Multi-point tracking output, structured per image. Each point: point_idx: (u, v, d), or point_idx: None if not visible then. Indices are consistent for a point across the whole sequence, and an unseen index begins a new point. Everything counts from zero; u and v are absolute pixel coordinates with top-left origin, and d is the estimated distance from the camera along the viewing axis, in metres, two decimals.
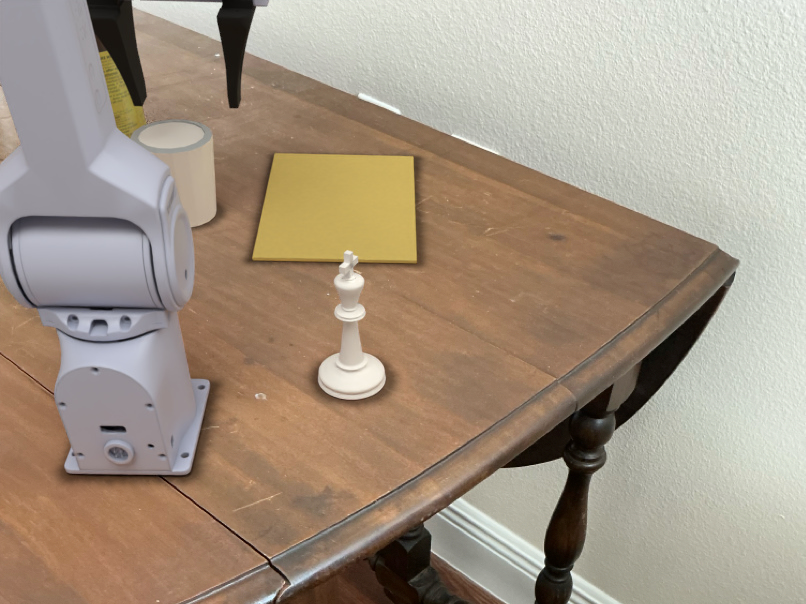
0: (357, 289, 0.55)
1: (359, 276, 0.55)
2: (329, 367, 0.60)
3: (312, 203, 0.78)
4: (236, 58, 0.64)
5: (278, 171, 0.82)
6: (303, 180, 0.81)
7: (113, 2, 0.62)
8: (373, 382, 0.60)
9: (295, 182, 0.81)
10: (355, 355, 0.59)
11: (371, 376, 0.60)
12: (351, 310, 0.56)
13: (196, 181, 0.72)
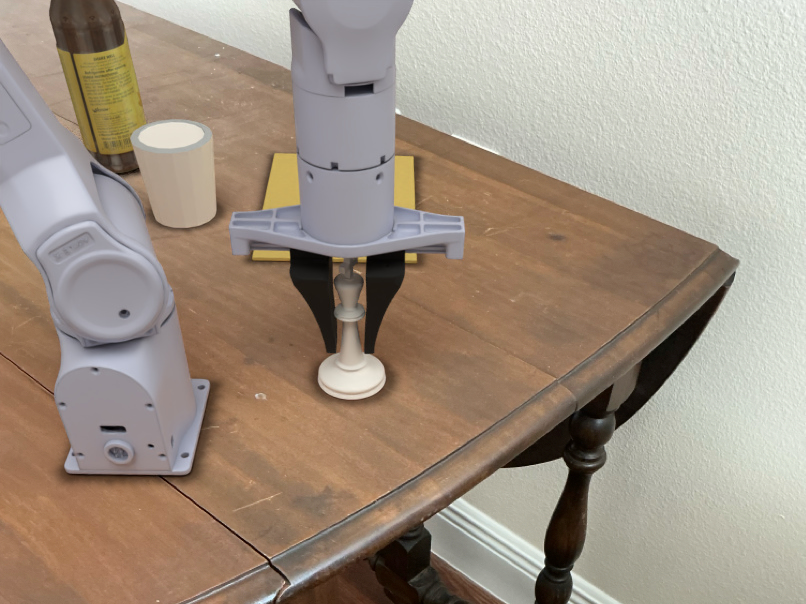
0: (357, 289, 0.55)
1: (359, 276, 0.55)
2: (329, 367, 0.60)
3: None
4: (380, 310, 0.55)
5: (278, 171, 0.82)
6: None
7: (322, 256, 0.53)
8: (373, 382, 0.60)
9: (295, 182, 0.81)
10: (355, 355, 0.59)
11: (371, 376, 0.60)
12: (351, 310, 0.56)
13: (196, 181, 0.72)
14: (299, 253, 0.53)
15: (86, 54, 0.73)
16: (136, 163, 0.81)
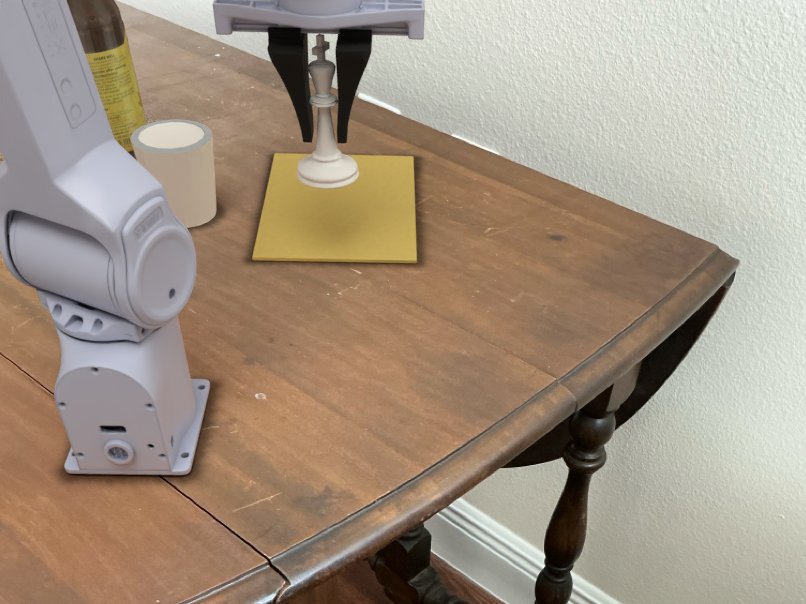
0: (329, 72, 0.61)
1: (331, 62, 0.61)
2: (307, 161, 0.66)
3: (312, 203, 0.78)
4: (350, 92, 0.61)
5: (278, 171, 0.82)
6: None
7: (296, 36, 0.59)
8: (346, 173, 0.66)
9: (295, 182, 0.81)
10: (329, 146, 0.65)
11: (345, 167, 0.66)
12: (324, 96, 0.62)
13: (196, 181, 0.72)
14: (277, 32, 0.59)
15: (86, 54, 0.73)
16: None
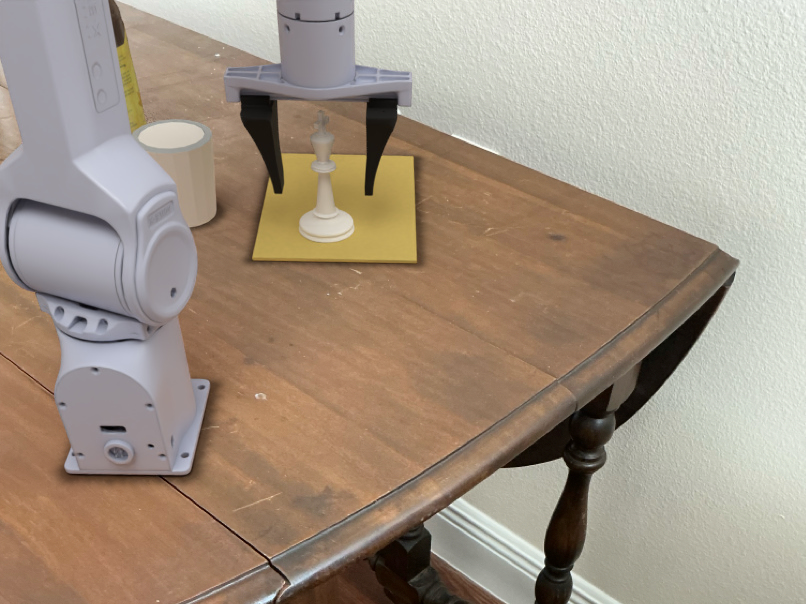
0: (328, 143, 0.69)
1: (330, 134, 0.69)
2: (308, 217, 0.74)
3: (312, 203, 0.78)
4: (378, 152, 0.68)
5: None
6: (303, 180, 0.81)
7: (266, 103, 0.66)
8: (343, 228, 0.73)
9: (295, 182, 0.81)
10: (328, 205, 0.73)
11: (342, 224, 0.73)
12: (324, 163, 0.70)
13: (196, 181, 0.72)
14: (248, 100, 0.66)
15: None
16: None
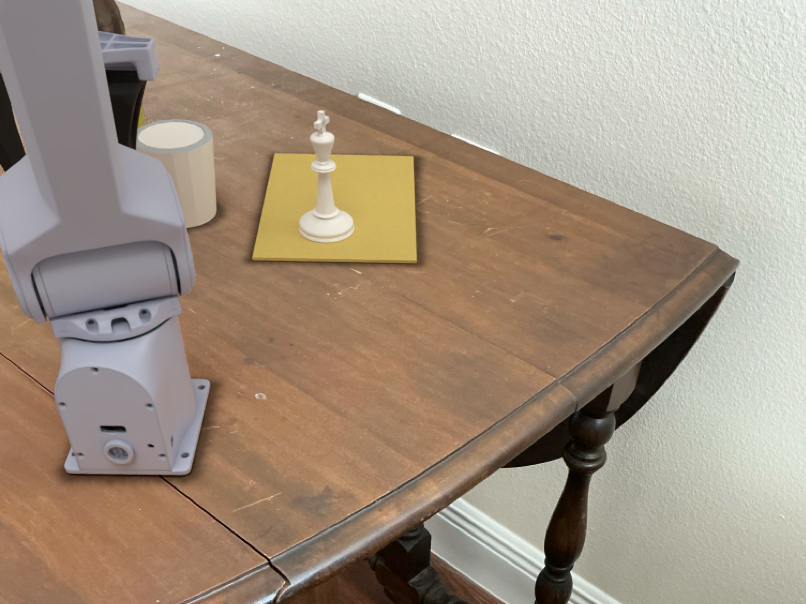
0: (328, 143, 0.69)
1: (330, 134, 0.69)
2: (308, 217, 0.74)
3: (312, 203, 0.78)
4: (123, 137, 0.56)
5: (278, 171, 0.82)
6: (303, 180, 0.81)
7: None
8: (343, 228, 0.73)
9: (295, 182, 0.81)
10: (328, 205, 0.73)
11: (342, 224, 0.73)
12: (324, 163, 0.70)
13: (196, 181, 0.72)
14: None
15: None
16: None
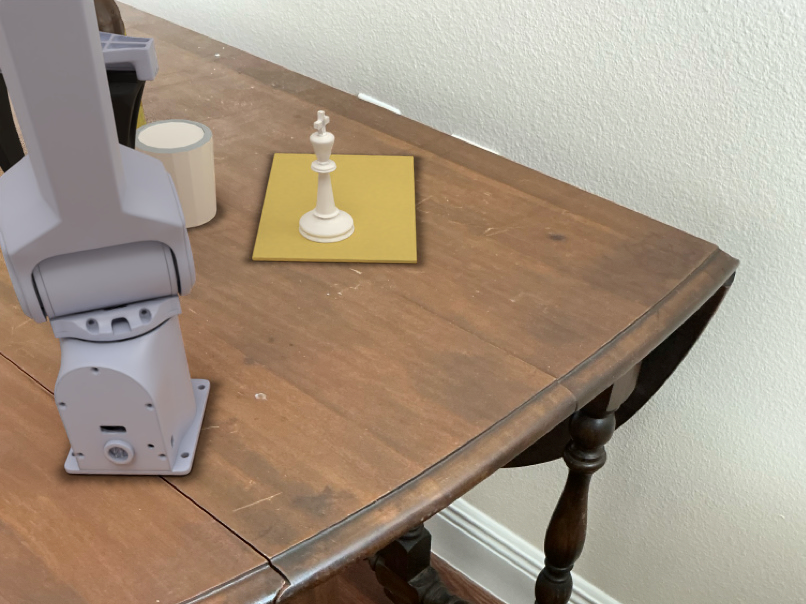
0: (328, 143, 0.69)
1: (330, 134, 0.69)
2: (308, 217, 0.74)
3: (312, 203, 0.78)
4: (122, 137, 0.56)
5: (278, 171, 0.82)
6: (303, 180, 0.81)
7: None
8: (343, 228, 0.73)
9: (295, 182, 0.81)
10: (328, 205, 0.73)
11: (342, 224, 0.73)
12: (324, 163, 0.70)
13: (196, 181, 0.72)
14: None
15: None
16: None
